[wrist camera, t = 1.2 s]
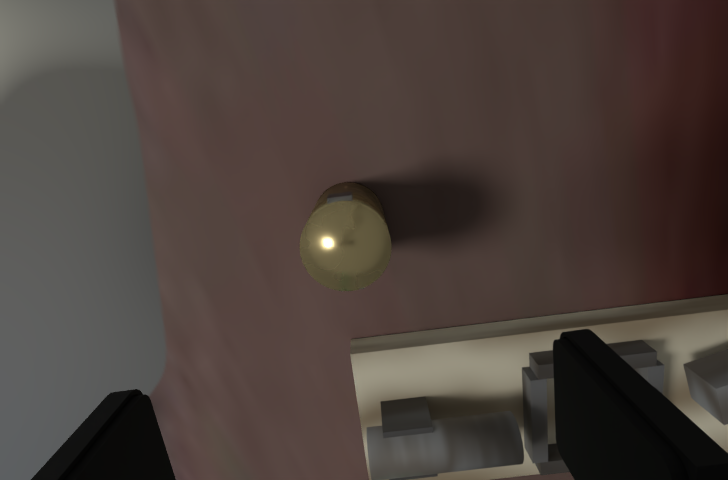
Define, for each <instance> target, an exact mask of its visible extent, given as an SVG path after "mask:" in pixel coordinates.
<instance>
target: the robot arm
mask: <svg viewBox="0 0 728 480" xmlns="http://www.w3.org/2000/svg"><path fill="white" fill-rule="evenodd" d="M553 369H554V400H555V431H556V444H557V448H558V451H559V453H560V456H561V458H562V459H563V461H564V463H565V464H566V466H567V468H568V469H569V471H570V473H571V474H572V476H573V478H574V479H575V480H728V453H727V452H726V451H725V450H724V449H723V448H721V447H720V446H719V445H718V444H717V443H716V442H715V441H714V440H713V439H712V438H710V437H709V436H708V435H707V434H706V433H705V432H704V431H703V430H702V429H701V428H699V427H698V426H697V425H696V424H695V423H694V422H693V421H692V420H691V419H689V418H688V417H687V416H686V415H685V414H684V413H683V412H682V411H681V410H680V409H678V408H677V407H676V406H675V405H674V404H673V403H672V402H671V401H670V400H668V399H667V398H666V397H665V396H664V395H663V394H662V393H661V392H660V391H659V390H657V389H656V388H655V387H653V386H652V385H651V384H650V383H649V382H648V381H647V380H645V379H644V378H643V377H642V376H641V375H640V374H639V373H638V372H637V371H636V370H634V369H633V368H632V367H631V366H630V365H629V364H628V363H627V362H626V361H625V360H623V359H622V358H621V357H620V356H619V355H618V354H617V353H616V352H615V351H613V350H612V349H611V348H610V347H609V346H608V345H607V344H606V343H605V342H604V341H602V340H601V339H600V338H599V337H598V336H597V335H596V334H595V333H594V332H593V331H591V330H590V329H581V330H574V331H567V332H562V333H561V335H560V339H556V340H554V342H553ZM31 480H176V479H175V476H174V473H173V470H172V466H171V463H170V460H169V457H168V454H167V451H166V447H165V444H164V441H163V438H162V435H161V432H160V428H159V425H158V422H157V419H156V416H155V413H154V410H153V406H152V403H151V400H150V398H149V397H148V396H147V395H143V394H142V392H141V391H140V390H137V389H135V390H127V391H120V392H113V393H110V394H109V395H108V396H107V397H106V398H105V399H104V400H103V401H102V402H101V403H100V404H99V405H98V407H97V408H96V409H95V410H94V411H93V412H92V413H91V414H90V415H89V417H88V418H87V419H86V420H85V421H84V422H83V423H82V424H81V425H80V426H79V427H78V429H77V430H76V431H75V432H74V433H73V434H72V435H71V436H70V437H69V438H68V440H67V441H66V442H65V443H64V444H63V445H62V446H61V447H60V448H59V449H58V451H57V452H56V453H55V454H54V455H53V456H52V457H51V458H50V459H49V461H48V462H47V463H46V464H45V465H44V466H43V467H42V468H41V469H40V470H39V471H38V473H37V474H36V475H35V476H34V477H33V478H32V479H31Z"/></svg>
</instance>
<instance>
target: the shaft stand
mask: <svg viewBox="0 0 728 480" xmlns="http://www.w3.org/2000/svg"><path fill="white" fill-rule="evenodd" d="M581 329H590V330H591V331H593V332H594V333H595V334H596V335H597V336H598V337H599V338H600V339H601V340H602V341H604V342H605V343H606V344H607V345H608V346H609V347H610V348H611V349H612V350H613V351H615V352H616V353H617V354H618V355H619V356H620V357H621V358H622V359H623V360H625V361H626V362H627V363H628V364H629V365H630V366H631V367H632V368H633V369H634V370H636V371H637V372H638V373H639V374H640V375H641V376H642V377H643V378H644V379H645V380H647V381H648V382H649V383H650V384H651V385H652V386H653V387H655V388H656V389H657V390H659V391H660V392H661V393H662V394H663V395H664V396H665V397H666V398H667V399H668V400H670V401H671V402H672V403H673V404H674V405H675V406H676V407H677V408H678V409H680V410H681V411H682V412H683V413H684V414H685V415H686V416H687V417H688V418H689V419H691V420H692V421H693V422H694V423H695V424H696V425H697V426H698V427H699V428H701V429H702V430H703V431H704V432H705V433H706V434H707V435H708V436H709V437H710V438H712V439H713V440H714V441H715V442H716V443H717V444H718V445H719V446H720V447H721V448H723V449H724V450H725V451H726V452H727V453H728V294H726V295H718V296H710V297H701V298H693V299H684V300H676V301H668V302H659V303H651V304H643V305H634V306H626V307H618V308H609V309H601V310H593V311H584V312H576V313H568V314H559V315H551V316H542V317H534V318H526V319H517V320H509V321H501V322H492V323H484V324H476V325H467V326H459V327H451V328H442V329H434V330H426V331H417V332H409V333H400V334H392V335H384V336H375V337H367V338H359V339H351V352H350V355H351V362H352V369H353V375H354V382H355V389H356V395H357V402H358V409H359V415H360V422H361V429H362V435H363V442H364V449H365V455H366V462H367V469H368V475H369V480H490V479H499V478H507V477H516V476H525V475H534V474H541V475H547V474H556V473H564V472H570V471H569V469H568V468H567V466H566V464H565V463H564V461H563V459H562V458H561V456H560V453H559V451H558V448H557V444H556V431H555V400H554V369H553V342H554V340H556V339H560V335H561V333H562V332H567V331H574V330H581Z"/></svg>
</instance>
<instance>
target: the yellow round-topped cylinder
mask: <svg viewBox="0 0 728 480" xmlns="http://www.w3.org/2000/svg"><path fill="white" fill-rule="evenodd" d="M391 249H392V247H391V238H390V234H389V230H388V227H387V223H386V219H385V216H384V212H383V208H382V205H381V203H380V201H379V199H378V197H377V196H376V195H375V194H374V193H373V192H372V191H371V190H370V189H369V188H367V187H365V186H363V185H361V184H358V183H353V182H344V183H339V184H336V185H334V186H332V187H330V188H329V189H327V190H326V191H325V192H324V193H323V194H322V195H321V196H320V198H319V199H318V201H317V203H316V205H315V207H314V209H313V211H312V213H311V215H310V217H309V219H308V221H307V223H306V225H305V227H304V229H303V232H302V235H301V239H300V255H301V259H302V262H303V264H304V266H305V268H306V270H307V271H308V273H309V274H310V275H311V276H312V277H313V278H314V279H315V280H316V281H317V282H319V283H320V284H322V285H324V286H326V287H328V288H331V289H334V290H339V291H353V290H358V289H364V287H366V286H368V285H370V284H371V283H373V282H374V281H376V280H377V279H378V278H379V277H380V276H381V275H382V273H383V272H384V271H385V269H386V267H387V265H388V263H389V260H390V256H391Z"/></svg>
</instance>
